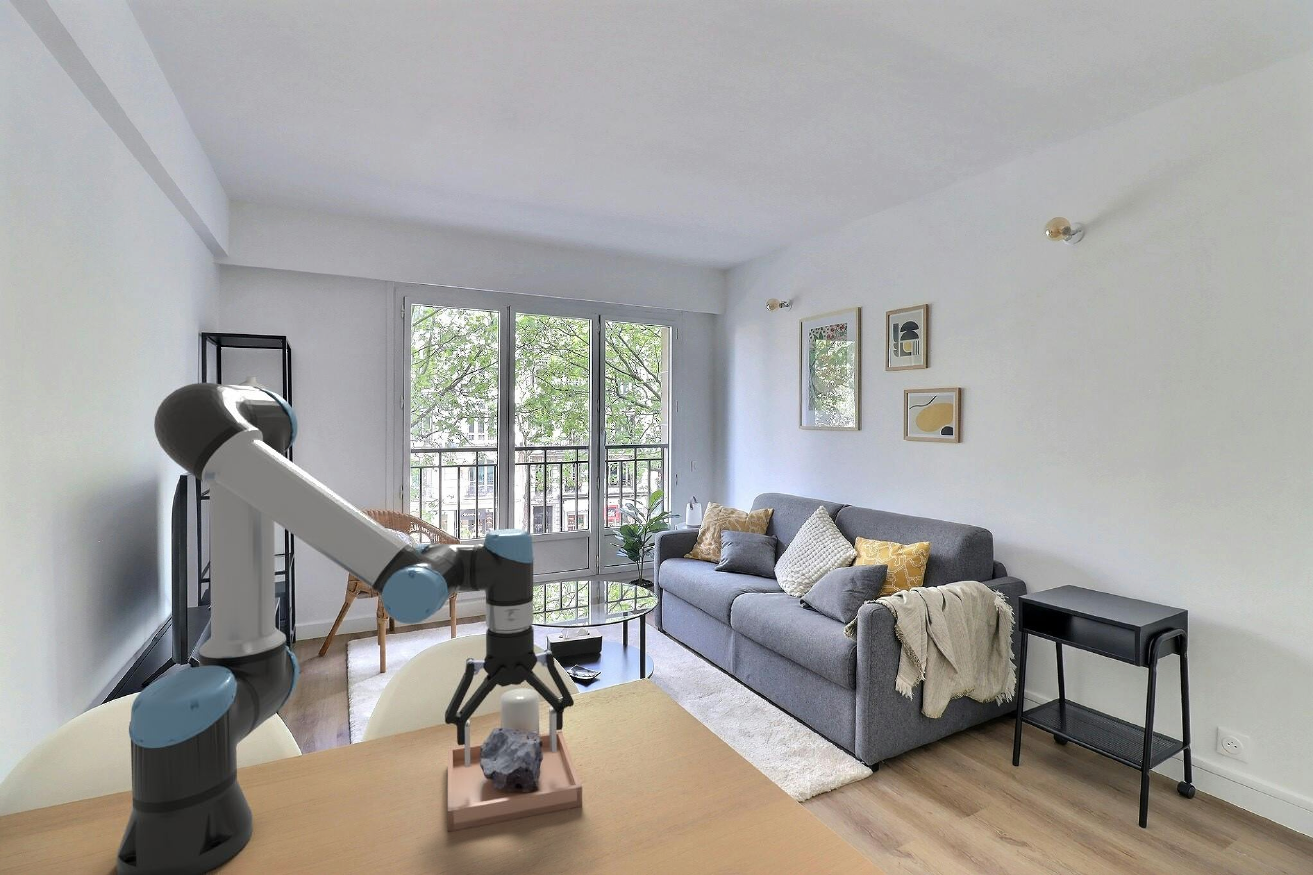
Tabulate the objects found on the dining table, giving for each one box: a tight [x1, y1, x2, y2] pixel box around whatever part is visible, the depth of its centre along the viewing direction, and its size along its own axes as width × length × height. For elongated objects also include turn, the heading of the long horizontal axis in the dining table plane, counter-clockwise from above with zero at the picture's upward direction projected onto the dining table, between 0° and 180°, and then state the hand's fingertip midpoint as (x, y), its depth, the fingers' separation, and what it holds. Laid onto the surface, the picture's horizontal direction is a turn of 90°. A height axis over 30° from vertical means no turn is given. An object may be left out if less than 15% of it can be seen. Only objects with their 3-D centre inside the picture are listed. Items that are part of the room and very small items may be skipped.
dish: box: [447, 730, 583, 832], centre depth 104 cm, size 20×19×3 cm
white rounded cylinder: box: [499, 688, 540, 734], centre depth 119 cm, size 7×7×8 cm
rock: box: [480, 727, 543, 793], centre depth 104 cm, size 14×10×10 cm
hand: (511, 756), depth 104 cm, fingers open, 13 cm apart
